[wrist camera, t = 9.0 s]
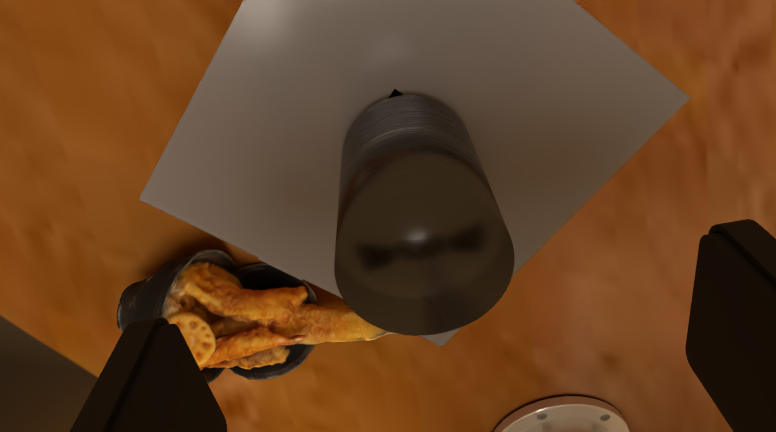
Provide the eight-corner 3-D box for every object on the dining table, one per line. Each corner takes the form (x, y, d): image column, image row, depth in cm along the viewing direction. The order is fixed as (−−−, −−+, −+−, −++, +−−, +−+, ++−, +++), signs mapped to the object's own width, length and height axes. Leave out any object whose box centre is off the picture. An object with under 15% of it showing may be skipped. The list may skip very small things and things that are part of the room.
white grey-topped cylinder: (384, 176, 35) (399, 388, 21) (222, 80, 32) (107, 259, 17) (530, -15, 30) (690, 97, 15) (353, -160, 26) (344, -190, 12)
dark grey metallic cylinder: (407, 148, 28) (455, 436, 14) (274, 65, 26) (166, 313, 11) (506, 19, 25) (698, 222, 11) (365, -90, 22) (371, -12, 8)
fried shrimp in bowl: (72, 261, 32) (361, 288, 27) (192, 225, 43) (419, 239, 37) (88, 407, 34) (365, 460, 29) (200, 339, 44) (419, 368, 39)
